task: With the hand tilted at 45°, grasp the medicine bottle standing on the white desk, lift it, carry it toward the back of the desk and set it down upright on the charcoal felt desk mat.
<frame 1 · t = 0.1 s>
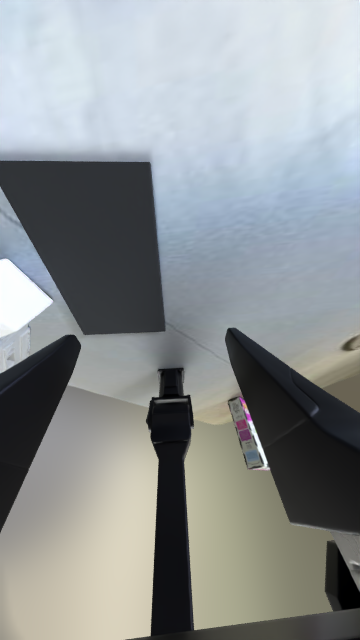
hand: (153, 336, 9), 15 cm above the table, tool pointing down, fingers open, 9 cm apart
candy bar box: (241, 402, 51), on the table
medicine bottle: (17, 289, 21), on the table
cassette: (25, 340, 28), on the table
desk mat: (108, 274, 21), on the table
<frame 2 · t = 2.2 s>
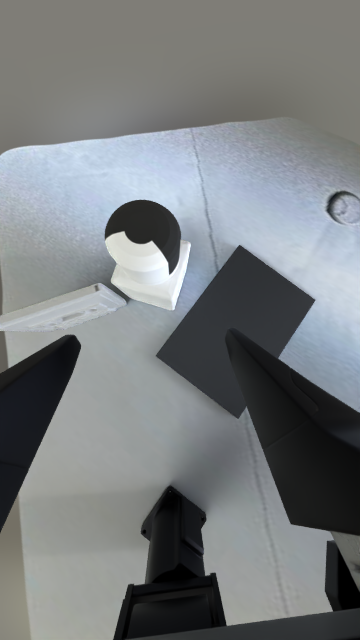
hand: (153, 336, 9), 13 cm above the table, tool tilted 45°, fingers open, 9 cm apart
medicine bottle: (158, 284, 23), on the table
cassette: (89, 315, 22), on the table
desk mat: (237, 327, 23), on the table
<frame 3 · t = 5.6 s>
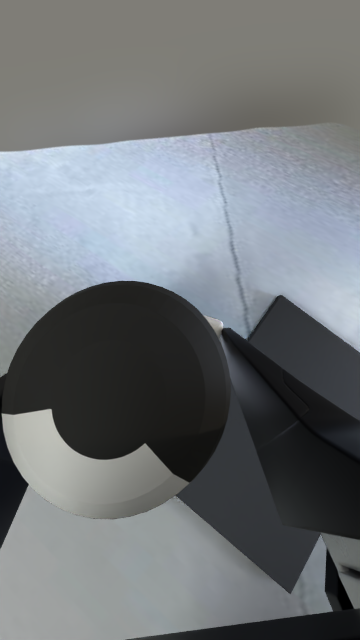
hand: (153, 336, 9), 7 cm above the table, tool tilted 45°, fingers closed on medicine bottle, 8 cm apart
medicine bottle: (161, 351, 15), on the table, touching gripper
desk mat: (280, 422, 15), on the table
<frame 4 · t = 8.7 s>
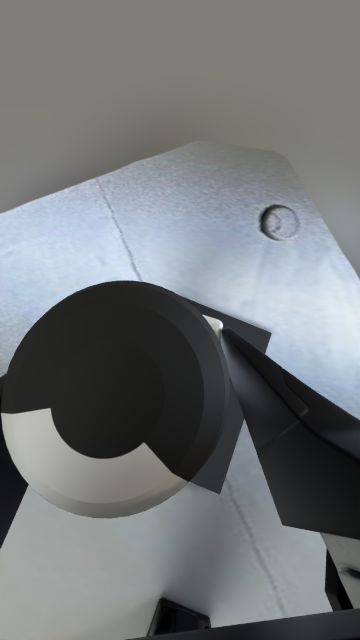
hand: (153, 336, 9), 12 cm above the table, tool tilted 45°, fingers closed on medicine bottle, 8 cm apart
medicine bottle: (161, 351, 15), point 5 cm above the table, touching gripper
desk mat: (195, 385, 20), on the table
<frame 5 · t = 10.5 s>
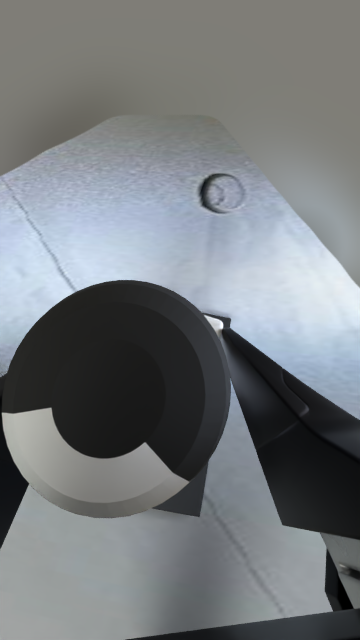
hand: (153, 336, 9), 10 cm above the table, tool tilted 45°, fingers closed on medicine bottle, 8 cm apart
medicine bottle: (161, 351, 15), point 3 cm above the table, touching gripper
desk mat: (154, 395, 17), on the table
when the fingers open (7 cm above the table, at t = 11.9 s): medicine bottle stays where it is, resting on desk mat.
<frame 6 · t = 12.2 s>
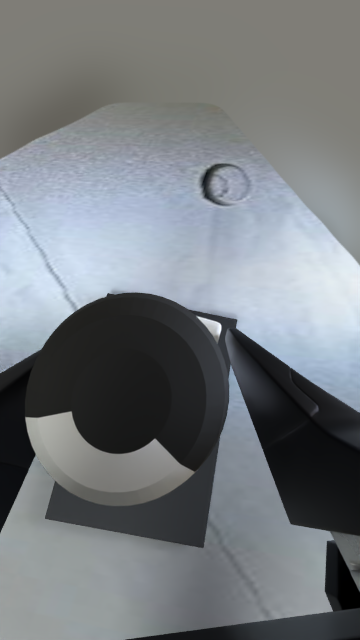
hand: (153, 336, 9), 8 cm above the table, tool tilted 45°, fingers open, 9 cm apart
medicine bottle: (162, 352, 16), resting on desk mat
desk mat: (151, 406, 15), on the table
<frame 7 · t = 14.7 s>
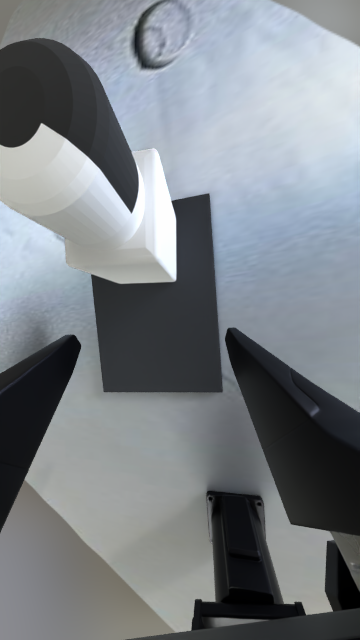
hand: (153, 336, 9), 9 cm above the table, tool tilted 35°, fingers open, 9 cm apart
medicine bottle: (147, 253, 17), resting on desk mat
desk mat: (153, 302, 18), on the table
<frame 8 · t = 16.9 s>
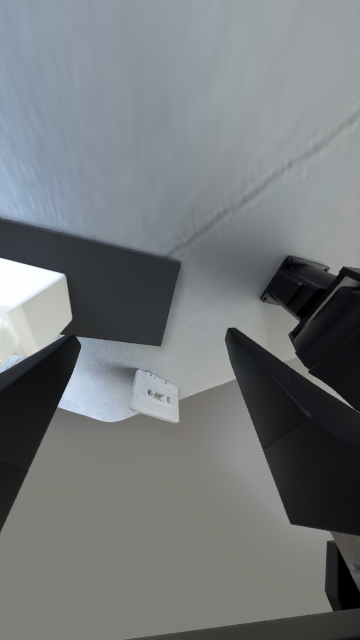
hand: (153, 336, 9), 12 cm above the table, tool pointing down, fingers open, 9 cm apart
medicine bottle: (40, 291, 18), resting on desk mat
cassette: (158, 378, 34), on the table
desk mat: (90, 297, 20), on the table
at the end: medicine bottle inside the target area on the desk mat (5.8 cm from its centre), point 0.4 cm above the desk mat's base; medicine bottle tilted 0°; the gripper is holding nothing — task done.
